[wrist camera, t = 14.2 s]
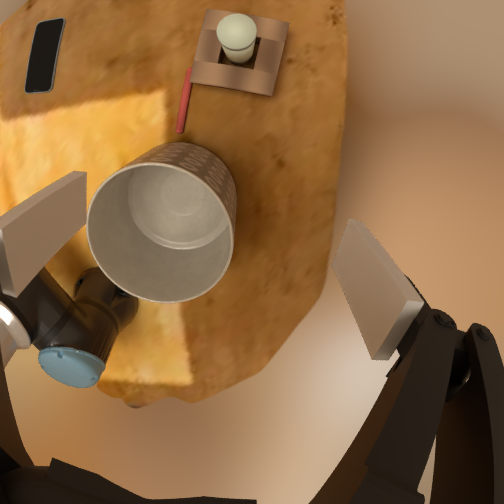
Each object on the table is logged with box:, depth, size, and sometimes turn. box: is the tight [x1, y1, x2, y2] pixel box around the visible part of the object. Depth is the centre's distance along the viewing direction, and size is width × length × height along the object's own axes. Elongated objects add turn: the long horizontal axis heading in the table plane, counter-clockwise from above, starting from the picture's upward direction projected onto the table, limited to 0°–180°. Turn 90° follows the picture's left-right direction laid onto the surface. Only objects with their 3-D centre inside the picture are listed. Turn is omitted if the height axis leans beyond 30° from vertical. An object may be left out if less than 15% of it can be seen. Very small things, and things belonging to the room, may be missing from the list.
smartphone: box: [25, 18, 65, 93], centre depth 36 cm, size 7×1×15 cm
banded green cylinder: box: [217, 14, 257, 66], centre depth 32 cm, size 4×4×18 cm
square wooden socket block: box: [189, 9, 290, 97], centre depth 38 cm, size 12×12×5 cm
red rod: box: [176, 68, 192, 134], centre depth 43 cm, size 11×1×1 cm, turn 168°
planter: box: [86, 142, 237, 303], centre depth 43 cm, size 19×19×18 cm
